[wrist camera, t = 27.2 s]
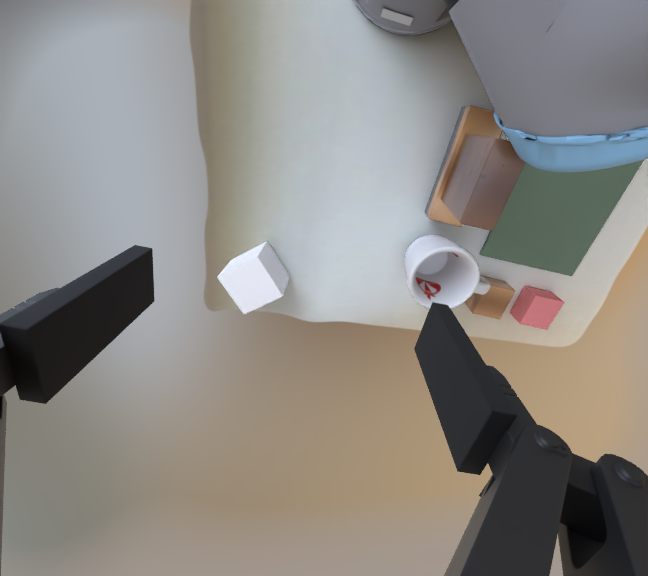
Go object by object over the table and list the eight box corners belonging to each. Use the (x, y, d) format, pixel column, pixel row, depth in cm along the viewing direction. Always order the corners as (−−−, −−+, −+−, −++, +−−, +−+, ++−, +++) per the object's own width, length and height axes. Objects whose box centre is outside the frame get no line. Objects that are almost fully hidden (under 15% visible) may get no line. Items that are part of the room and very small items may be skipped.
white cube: (267, 240, 44) (257, 256, 39) (289, 276, 47) (283, 296, 41) (231, 259, 46) (216, 277, 40) (254, 293, 48) (244, 314, 43)
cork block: (478, 275, 45) (486, 284, 43) (505, 281, 45) (515, 291, 43) (464, 302, 47) (472, 313, 45) (491, 308, 47) (500, 319, 45)
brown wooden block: (461, 107, 37) (504, 100, 24) (497, 115, 36) (557, 113, 24) (424, 210, 42) (443, 247, 30) (454, 218, 42) (485, 258, 30)
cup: (488, 244, 43) (517, 268, 36) (458, 295, 47) (480, 326, 40) (413, 218, 42) (428, 237, 35) (388, 272, 46) (397, 299, 38)
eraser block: (524, 285, 46) (536, 295, 43) (551, 291, 46) (564, 302, 43) (509, 312, 48) (519, 323, 45) (535, 318, 48) (547, 329, 45)
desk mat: (549, 103, 36) (551, 103, 36) (658, 132, 37) (661, 132, 36) (479, 254, 44) (480, 255, 44) (570, 274, 45) (571, 276, 44)
